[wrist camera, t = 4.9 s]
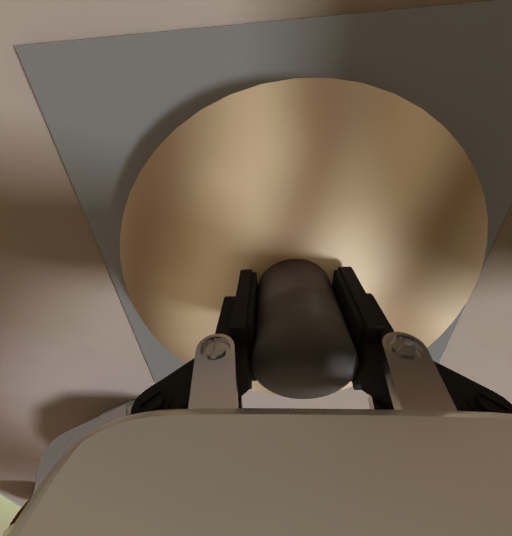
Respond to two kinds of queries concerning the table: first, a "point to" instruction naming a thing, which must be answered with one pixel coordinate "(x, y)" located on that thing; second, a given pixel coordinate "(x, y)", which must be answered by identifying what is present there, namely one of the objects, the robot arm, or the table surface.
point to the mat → (259, 72)
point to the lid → (303, 225)
